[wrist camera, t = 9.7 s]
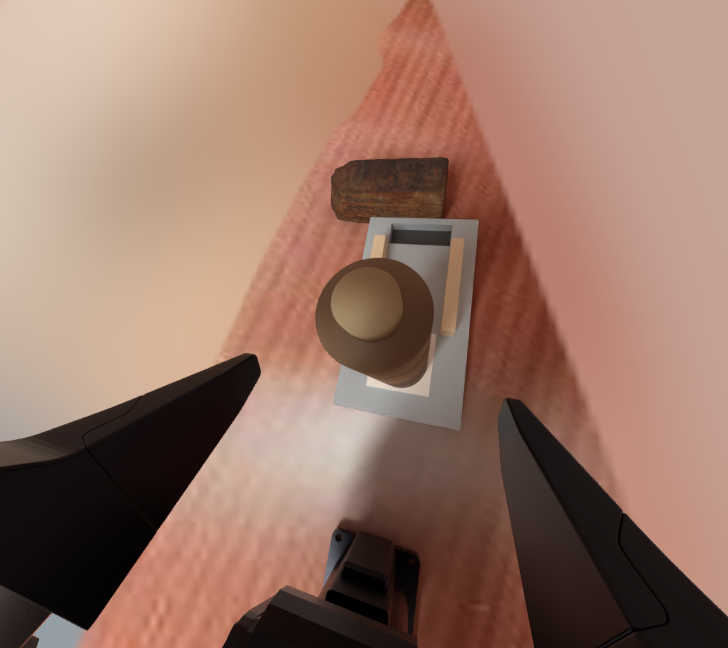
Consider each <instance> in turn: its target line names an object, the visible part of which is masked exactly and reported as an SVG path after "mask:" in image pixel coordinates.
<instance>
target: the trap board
mask: <svg viewBox="0 0 728 648" xmlns="http://www.w3.org/2000/svg"><path fill="white" fill-rule="evenodd" d="M478 225H479V220H468V219H426V218H384V217H371V218H370V223H369V228H368V233H367V238H366V243H365V248H364V253H363V258H362V260H364V259H369V258H388V259H392V260H396V261H399V262H402V263H404V264H406V265H407V266H409V267H411V268H412V269H413V270H415V271H416V272H417V273H418V274H419V275H420V276H421V277H422V279H423V280H424V281H425V283H426V284H427V286H428V288H429V290H430V293H431V295H432V299H433V304H434V320H433V327H432V334H431V341H430V349H429V356H428V363H427V369H426V372H425V374H424V376H423V377H422V379H421V380H420V381H419V382H418V383H416V384H415V385H413V386H411V387H407V388H396V387H393V386H390V385H388V384H385V383H383V382H381V381H378V380H376V379H374V378H371V377H369V376H366V375H364V374H362V373H359V372H357V371H355V370H352V369H350V368H348V367H345V366H344V365H342V364H341V368H340V372H339V377H338V382H337V387H336V392H335V397H334V402H333V405H337V406H342V407H346V408H351V409H356V410H361V411H366V412H370V413H375V414H380V415H385V416H390V417H395V418H399V419H404V420H409V421H414V422H419V423H423V424H428V425H433V426H438V427H443V428H448V429H452V430H457V431H460V428H461V417H462V405H463V394H464V383H465V371H466V360H467V349H468V338H469V326H470V315H471V304H472V292H473V281H474V270H475V258H476V247H477V236H478Z"/></svg>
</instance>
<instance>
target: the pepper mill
mask: <svg viewBox="0 0 728 648" xmlns="http://www.w3.org/2000/svg"><path fill="white" fill-rule="evenodd" d="M433 320H434V304H433V299H432V295H431V293H430V290H429V288H428V286H427V284H426V283H425V281H424V280H423V279H422V277H421V276H420V275H419V274H418V273H417V272H416V271H415V270H413V269H412V268H411V267H409V266H407V265H406V264H404V263H402V262H399V261H396V260H392V259H388V258H369V259H364V260H360V261H357V262H354V263H352V264H350V265H348V266H346V267H345V268H343V269H342V270H340V271H339V272H338V273H337V274H335V275H334V276H333V277H332V278H331V279H330V281H329V282H328V283H327V285H326V286H325V288H324V289H323V291H322V293H321V295H320V297H319V300H318V304H317V308H316V318H315V321H316V329H317V333H318V336H319V339H320V341H321V343H322V345H323V347H324V348H325V350H326V351H327V352H328V354H329V355H330V356H331V357H332V358H333V359H335V360H336V361H337V362H339V363H340V364H342V365H344V366H345V367H348V368H350V369H352V370H355V371H357V372H359V373H362V374H364V375H366V376H369V377H371V378H374V379H376V380H378V381H381V382H383V383H385V384H388V385H390V386H393V387H396V388H407V387H411V386H413V385H415V384H416V383H418V382H419V381H420V380H421V379H422V377H423V376H424V374H425V372H426V369H427V363H428V356H429V349H430V341H431V334H432V327H433Z"/></svg>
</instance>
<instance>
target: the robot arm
mask: <svg viewBox="0 0 728 648" xmlns="http://www.w3.org/2000/svg"><path fill="white" fill-rule="evenodd" d="M260 374H261V369H260V366H259V362H258V358H257V356H256V355H255V354H250V353H244V354H242V355H239V356H237V357H234V358H232V359H230V360H227V361H225V362H222V363H220V364H217V365H215V366H212V367H210V368H208V369H205V370H203V371H200V372H198V373H195V374H193V375H190V376H188V377H186V378H183V379H181V380H178V381H176V382H173V383H171V384H168V385H166V386H163V387H161V388H159V389H156V390H154V391H151V392H149V393H146V394H145V395H143V396H139V397H137V398H134V399H132V400H129V401H127V402H124V403H122V404H119V405H116V406H114V407H111V408H109V409H106V410H104V411H101V412H98V413H95V414H92V415H90V416H87V417H84V418H81V419H79V420H76V421H73V422H70V423H68V424H65V425H62V426H59V427H56V428H53V429H51V430H48V431H45V432H42V433H40V434H36V435H33V436H30V437H26V438H22V439H17V440H12V441H4V442H0V648H36V647H37V644H38V641H39V638H37V637H36V636H34V635H33V634H34V633H35V632H36V631H37V629H38V628H39V627H40V626H41V625H42V624H43V622H45V620H46V619H47V618H48V617H49V616H50V615H51V614H52V613H54V614H56V615H58V616H59V617H61V618H63V619H65V620H67V621H69V622H71V623H73V624H75V625H77V626H78V627H80V628H82V629H84V630H86V631H87V630H89V628H90V627H91V626H92V625H93V623H94V622H95V621H96V619H97V618H98V617H99V615H100V614H101V612H102V611H103V609H104V608H105V606H106V605H107V603H108V602H109V601H110V599H111V598H112V596H113V595H114V593H115V592H116V590H117V589H118V588H119V586H120V585H121V583H122V582H123V580H124V579H125V577H126V576H127V575H128V573H129V572H130V570H131V569H132V567H133V566H134V564H135V563H136V562H137V560H138V559H139V557H140V556H141V554H142V553H143V551H144V550H145V549H146V547H147V546H148V544H149V543H150V541H151V540H152V538H153V537H154V535H155V534H156V533H157V530H158V529H159V528H160V527H161V525H162V524H163V522H164V521H165V519H166V518H167V516H168V515H169V514H170V512H171V511H172V509H173V508H174V506H175V505H176V503H177V502H178V501H179V499H180V498H181V496H182V495H183V493H184V492H185V490H186V489H187V488H188V486H189V485H190V483H191V482H192V480H193V479H194V477H195V476H196V475H197V473H198V472H199V470H200V469H201V467H202V466H203V464H204V463H205V461H206V460H207V459H208V457H209V456H210V454H211V453H212V451H213V450H214V448H215V447H216V446H217V444H218V443H219V441H220V440H221V438H222V437H223V435H224V434H225V433H226V431H227V430H228V428H229V427H230V425H231V424H232V422H233V421H234V420H235V418H236V417H237V415H238V414H239V412H240V411H241V409H242V407H243V406H244V404H245V402H246V400H247V399H248V397H249V395H250V393H251V392H252V390H253V388H254V386H255V384H256V383H257V381H258V379H259V377H260ZM498 430H499V445H500V461H501V471H502V478H503V483H504V489H505V494H506V499H507V505H508V510H509V515H510V521H511V526H512V532H513V537H514V542H515V548H516V553H517V558H518V564H519V569H520V574H521V580H522V585H523V590H524V596H525V601H526V607H527V612H528V617H529V623H530V628H531V633H532V639H533V644H534V648H728V616H727V615H726V614H724V612H723V611H721V609H719V608H718V607H717V606H716V605H715V604H714V603H713V602H712V601H711V600H710V599H709V598H708V597H707V596H706V595H705V594H704V593H703V592H702V591H701V590H700V589H699V588H698V587H697V586H696V585H695V584H694V583H693V582H691V580H690V579H689V578H688V577H687V576H686V575H685V574H684V573H683V572H682V571H681V570H679V568H678V567H677V566H676V565H675V564H673V562H672V561H671V560H670V559H669V558H668V557H667V556H665V554H664V553H663V552H662V551H661V550H660V549H659V548H658V547H657V546H656V545H655V544H654V543H653V542H652V541H651V540H650V539H649V538H648V537H647V536H646V534H644V532H643V531H642V530H641V529H640V528H639V527H638V526H637V525H636V524H635V523H634V522H633V521H632V520H631V518H630V517H629V516H628V515H627V514H625V513H623V510H622V509H621V508H620V507H619V506H618V505H617V504H616V502H615V501H614V500H613V499H612V498H611V497H610V496H609V495H608V494H607V493H606V492H605V491H604V490H603V488H602V487H601V486H600V485H599V484H598V483H597V482H596V481H595V480H594V479H593V478H592V477H591V476H590V474H589V473H588V472H587V471H586V470H585V469H584V468H583V467H582V466H581V465H580V464H579V463H578V462H577V460H576V459H575V458H574V457H573V456H572V455H571V454H570V453H569V452H568V451H567V450H566V449H565V448H564V446H563V445H562V444H561V443H560V442H559V441H558V440H557V439H556V438H555V437H554V436H553V435H552V434H551V432H550V431H549V430H548V429H547V428H546V427H545V426H544V425H543V424H542V423H541V422H540V421H539V420H538V418H537V417H536V416H535V415H534V414H533V413H532V412H531V411H530V410H529V409H528V408H527V407H526V406H525V404H524V403H523V402H522V401H520V400H518V399H512V398H506V399H505V400H504V402H503V405H502V408H501V410H500V413H499V417H498ZM337 534H340V535H341V538H342V539H338V538H337ZM410 559H414V560H415V561H416V563H415V564H412V563H410V561H409V560H410ZM419 569H420V558H419V556H418V554H417V553H415V552H414V551H411V550H407V549H404V548H401V547H398V546H395V545H394V544H393V542H392V541H390V540H387V539H384V538H381V537H378V536H375V535H371V534H368V533H365V532H362V531H360V532H358V533H355V532H352V531H349V530H346V529H343V528H337V529H336V530H335V531H334V532H333V534H332V539H331V544H330V550H329V555H328V561H327V566H326V572H325V577H324V583H323V588H322V591H321V593H320V595H319V597H315V596H313V595H310V594H308V593H305V592H303V591H300V590H298V589H295V588H293V587H290V586H288V585H287V586H285V587H283V588H282V589H280V590H279V591H278V593H277V594H276V595H274V596H273V597H271V598H269V599H268V600H266V601H264V602H263V603H261V604H259V605H257V606H256V607H254V608H252V609H251V610H249V611H248V612H247V613H246V614H244V615H243V617H242V618H241V619H240V620H239V621H238V622H236V623H235V624H234V626H233V627H232V629H231V631H230V634H229V636H228V638H227V640H226V642H225V644H224V645H223V647H222V648H418V645H417V637H415V636H412V633H413V624H414V615H415V605H416V596H417V587H418V578H419Z"/></svg>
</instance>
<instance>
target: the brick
mask: <svg viewBox="0 0 728 648" xmlns="http://www.w3.org/2000/svg"><path fill="white" fill-rule="evenodd" d="M448 162H449V161H448V159H447V158H443V157H439V158H403V159H376V160H355V161H350V162H348V163H347V164H345V165H344V166H342V167H339V168H337V169H336V170H335V173H334V174H333V175H332V176H331V184H332V187H331V206H332V209H333V210H334V211H335V214H336V216H337V218H338V219H339V220H344V221H352V222H358V223H370V218H371V217H384V218H426V219H442V215H443V208H444V201H445V191H446V184H447V175H448Z"/></svg>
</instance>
